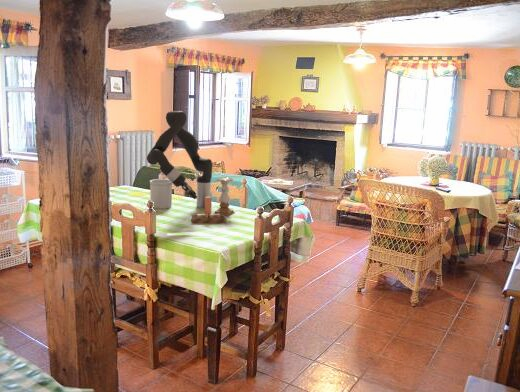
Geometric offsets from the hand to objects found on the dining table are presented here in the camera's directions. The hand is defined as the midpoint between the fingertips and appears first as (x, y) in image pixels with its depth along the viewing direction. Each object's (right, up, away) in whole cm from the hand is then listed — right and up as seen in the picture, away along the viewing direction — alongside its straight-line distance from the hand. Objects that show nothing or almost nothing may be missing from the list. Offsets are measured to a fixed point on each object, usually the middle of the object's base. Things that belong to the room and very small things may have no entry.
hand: (195, 196), depth 275 cm
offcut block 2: (+11, -15, +1) cm, 19 cm away
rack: (+7, -16, +1) cm, 18 cm away
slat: (+7, -14, +4) cm, 16 cm away
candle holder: (+15, -12, +22) cm, 30 cm away
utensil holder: (-29, -7, +41) cm, 50 cm away
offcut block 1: (+4, -15, 0) cm, 16 cm away
